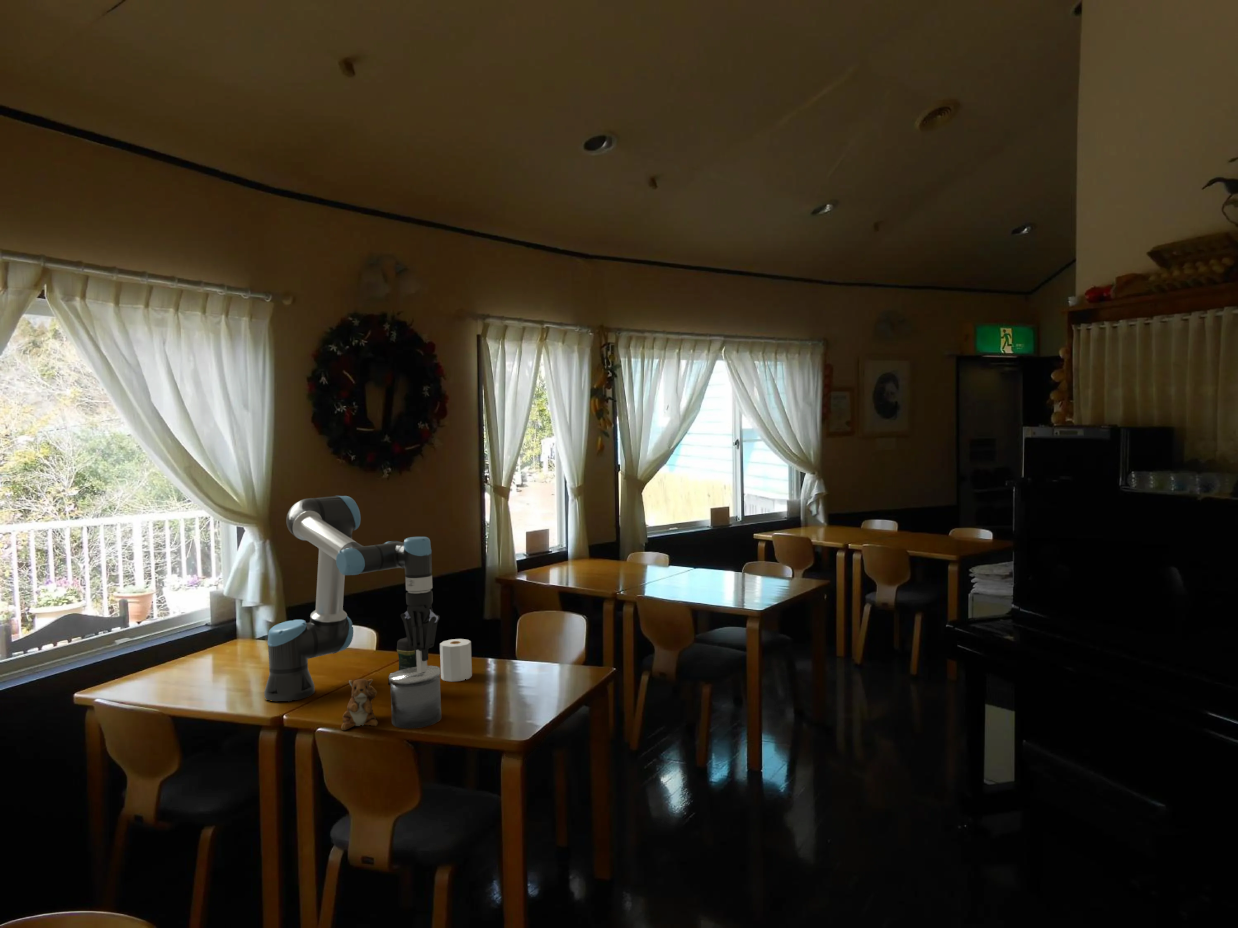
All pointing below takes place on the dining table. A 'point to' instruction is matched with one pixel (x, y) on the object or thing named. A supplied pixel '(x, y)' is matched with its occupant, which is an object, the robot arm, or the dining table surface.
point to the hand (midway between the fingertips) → (422, 671)
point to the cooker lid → (413, 675)
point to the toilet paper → (455, 660)
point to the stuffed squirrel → (360, 705)
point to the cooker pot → (416, 703)
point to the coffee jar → (406, 654)
